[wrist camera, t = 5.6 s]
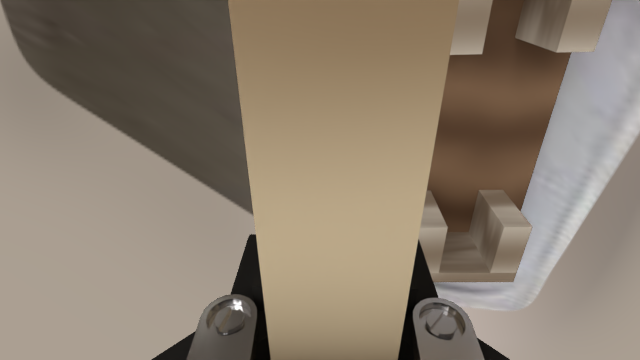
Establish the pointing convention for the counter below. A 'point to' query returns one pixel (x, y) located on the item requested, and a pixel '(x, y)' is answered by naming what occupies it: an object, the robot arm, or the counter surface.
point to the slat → (339, 162)
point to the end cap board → (496, 129)
